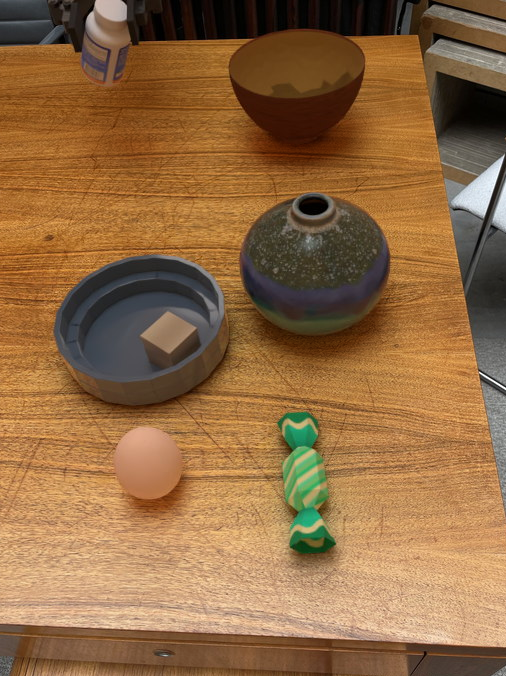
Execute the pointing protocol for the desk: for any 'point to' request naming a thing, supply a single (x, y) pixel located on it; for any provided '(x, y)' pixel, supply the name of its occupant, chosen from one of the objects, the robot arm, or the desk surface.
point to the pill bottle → (105, 43)
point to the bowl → (297, 81)
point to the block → (170, 341)
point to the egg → (147, 463)
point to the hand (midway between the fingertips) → (103, 36)
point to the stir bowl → (139, 327)
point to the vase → (314, 264)
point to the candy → (305, 484)
